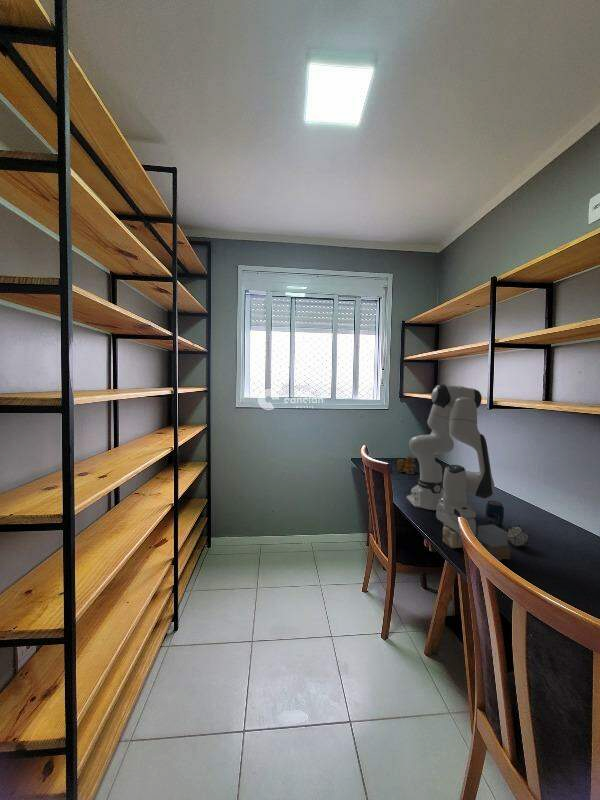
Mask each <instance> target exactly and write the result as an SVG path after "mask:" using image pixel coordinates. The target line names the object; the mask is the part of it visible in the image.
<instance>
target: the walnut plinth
mask: <svg viewBox="0 0 600 800" xmlns="http://www.w3.org/2000/svg"><path fill="white" fill-rule="evenodd" d="M476 538H477V539H478V537H476ZM478 540H479V539H478ZM479 541H480V542H481V543H482V545H483V546H484V547H485V548H486V549H487V550H488V551H489V552H490V553H491V554H492V555H494V556H495V557H496V558H497V559H498V561H503V560H502V559H507V560H510V559H511V558H510V555H511V554H510V553H511V552H510V550H511V545H509V544H508V546H498V547H490V546H489V545H487V544H486V543H484V542H482V541H481V540H479Z"/></svg>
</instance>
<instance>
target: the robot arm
mask: <svg viewBox="0 0 600 800" xmlns="http://www.w3.org/2000/svg"><path fill="white" fill-rule="evenodd" d="M431 402H432V403H433V404H432V406H431V408H430V412H429V415H428V418H427V421H426V422H427V423H426V424H427V425H428V428H430V429H431V432H430V434H419V435H416V436H413V437H411V438H410V439H409V442H408V448H409V451H410V452H411V453H412V455H414V456H415V457H416V459H417V460H418V464H419V478H418V477H417V481H418V482H417V485H414V486H413V487H412V488H411V490H410V494H408V495H407V496H406V499H407V500H408V501H409V502H410V503H411V504H412V505H413V506H414V507H415V508H421V509H425V510H430V511H436V512H435V516H436V519H437V520H438V521H440V522H442V524H443V527H450V528H452V529H453V530H455V531H456V532H458V533H459V536H460V531H459V525H458V517H463V518H465V519H466V520H467V522H468V524H469V526H470V528H471V530H472V532H473V533H474V535H475V537H476V535H477V522H476V519H475V518H476V517H477V513H476V511H475V510H474V508H472V507H471V506H470V505H469V503H468V499H467V495H470V496H475V497H478V498H481V499H488V498H489V497H492V496H493V495H494V492H495V482H494V479H493V476H492V470H491V469H492V468H491V463H490V454H489V449H488V444H487V439H486V438H485V435H484V434H482V433H481V432H480V431H479V429H478V410H477V409H478V408H479V407H480V406H481V404H482V393H481V392H480V391H479V390H478V389H476V388H473V387H471V388H470V387H466V386H462V385H446V384H437V385H435V386H434V387H433V389H432V391H431ZM452 437H453V438H454V439H455V440H457V441H459V442H461V443H463V444H464V445H467V446H469V447H471V448H472V449H474V450H475V452H476V455H477V460H478V470H479V471H478V472H476V471H470V470H466V468H465V467H464V466H462V465H460V464H449V465H447V466H445V468H444V473H443V467H442V465H441V464H440V463H439V462H437V461H436V459H435V455H445V454H447V453H450V452H452V451H453V449H454V445H455V443H454V442H455V441H454V440H453V438H452ZM457 542H458V543H459V544H462V543H461V538H460V537H459V538H457Z"/></svg>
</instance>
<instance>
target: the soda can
mask: <svg viewBox="0 0 600 800" xmlns="http://www.w3.org/2000/svg"><path fill="white" fill-rule="evenodd" d="M504 509H505V508H504V506H503V503H501V502H500V501H497V500H496V501H495V500H488V501H487V503H486V504H485V521H484V522H485V524H484V525H495V526H497V527H499V528H501V529H503V530H504V521H505V520H504V516H505V515H504V514H505V513H504V511H505V510H504Z"/></svg>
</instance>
